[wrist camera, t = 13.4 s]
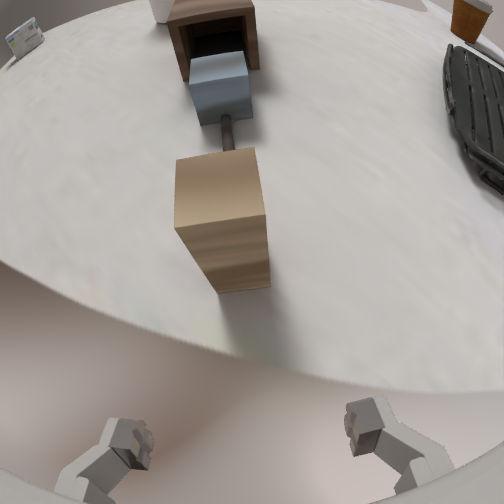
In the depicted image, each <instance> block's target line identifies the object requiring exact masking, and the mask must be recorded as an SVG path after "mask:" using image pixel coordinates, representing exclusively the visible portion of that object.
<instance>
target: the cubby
mask: <svg viewBox="0 0 504 504" xmlns="http://www.w3.org/2000/svg"><path fill="white" fill-rule="evenodd" d="M166 22H167V25H168V29H169V33H170V36H171V40H172V43H173V47H174V50H175V54H176V57H177V61H178V64H179V68H180V71H181V75H182V78H183V81H187V80H189V77H190V66H191V59H193V54H194V42H195V37H198V36H203V35H208V34H214V33H220V32H227V31H234V30H241V34H242V37H243V41H244V45H245V48H246V52H247V56H248V60H249V63H250V67H251V70H255V69H260V66H259V54H258V42H257V30H256V19H255V8H254V5H253V3H252V1H251V0H175V1H174V4H173V6H172V9H171V11H170V14H169V16H168V19H167V21H166Z"/></svg>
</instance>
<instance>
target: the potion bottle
mask: <svg viewBox="0 0 504 504" xmlns="http://www.w3.org/2000/svg"><path fill="white" fill-rule="evenodd" d="M149 1H150V5H151V8H152V11H153V15H154V18H155V20H156V21H157V22H159V23H167V22H166V21H167V19H168V16H169V14H170V11H171V9H172V6H173V4H174V1H175V0H149Z"/></svg>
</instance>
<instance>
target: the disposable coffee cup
mask: <svg viewBox="0 0 504 504" xmlns="http://www.w3.org/2000/svg"><path fill="white" fill-rule="evenodd" d="M492 12H493V11H492V6H491V5H490V4H489V3H488V2H486V1H484V0H454V5H453V15H452V23H451V32H452V33H454V34H455V35H456V36H458V37H459V38H461V39H463V40H465V41H467V42H469V43H473V44H475V42H476V40H477V38H478V36H479V34H480V33H481V31H482V28H483V27H484V25H485V23H486V21H487V19H488V17H489V15H490V14H491V13H492Z"/></svg>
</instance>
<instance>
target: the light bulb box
mask: <svg viewBox="0 0 504 504" xmlns="http://www.w3.org/2000/svg"><path fill="white" fill-rule="evenodd" d="M5 39H6V41H7V43H8V44H9V46H10V48H11V50H12V52H13V53H14V55H15V57H16V58H17V60H19V59H20V58H21V57H23V56H24V55H25V54H27V53H28V52H30V51H31V50H32V49H34V48H35V47H37V46H38V45H40V44H41V43H43V41H44V36H43V34H42V32H41V30H40V28H39V26H38V24H37V23H36V21H35V18H34V17H33V18H31V19H30V20H28V21H27V22H25V23H24V24H23V25H21V26H20V27H18V28H17V29H16V30H14V31H13V32H12V33H10V34H9V35H8V36H7V37H6V38H5Z"/></svg>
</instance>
